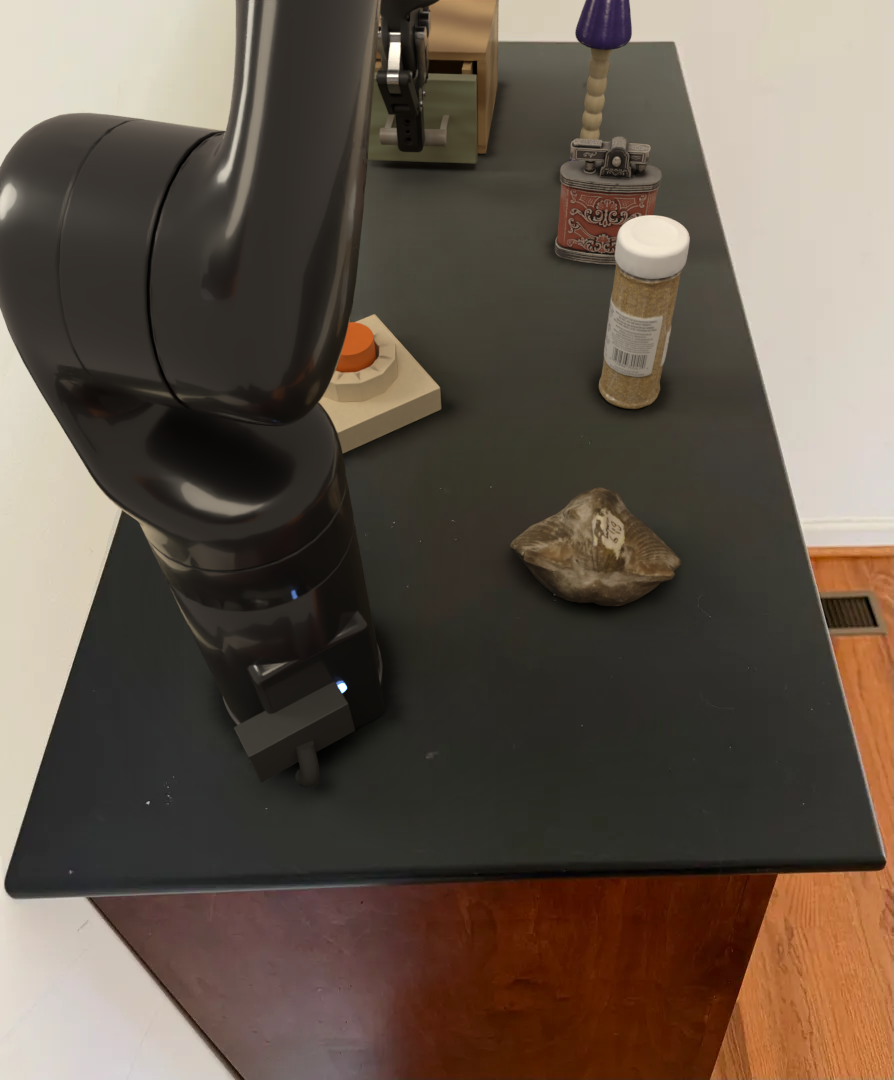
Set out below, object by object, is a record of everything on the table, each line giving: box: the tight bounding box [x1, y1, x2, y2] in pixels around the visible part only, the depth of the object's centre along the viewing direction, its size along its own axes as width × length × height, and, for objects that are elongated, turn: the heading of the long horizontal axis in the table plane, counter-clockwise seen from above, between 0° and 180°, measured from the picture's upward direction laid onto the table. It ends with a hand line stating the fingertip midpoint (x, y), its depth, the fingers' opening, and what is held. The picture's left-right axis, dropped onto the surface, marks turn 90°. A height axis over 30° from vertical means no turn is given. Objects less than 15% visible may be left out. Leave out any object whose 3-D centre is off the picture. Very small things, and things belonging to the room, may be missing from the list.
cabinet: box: [376, 0, 500, 154], centre depth 90 cm, size 14×12×10 cm
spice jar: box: [598, 214, 691, 410], centre depth 62 cm, size 5×5×13 cm
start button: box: [336, 321, 376, 373], centre depth 65 cm, size 4×4×2 cm
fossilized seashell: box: [509, 486, 682, 607], centre depth 56 cm, size 8×7×10 cm
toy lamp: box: [568, 0, 633, 161], centre depth 79 cm, size 5×5×17 cm
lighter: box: [554, 136, 663, 265], centre depth 74 cm, size 8×3×10 cm, turn 80°
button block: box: [319, 313, 442, 454], centre depth 67 cm, size 10×9×4 cm
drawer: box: [368, 59, 478, 164], centre depth 86 cm, size 17×10×8 cm, turn 173°
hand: (412, 147), depth 80 cm, fingers closed
